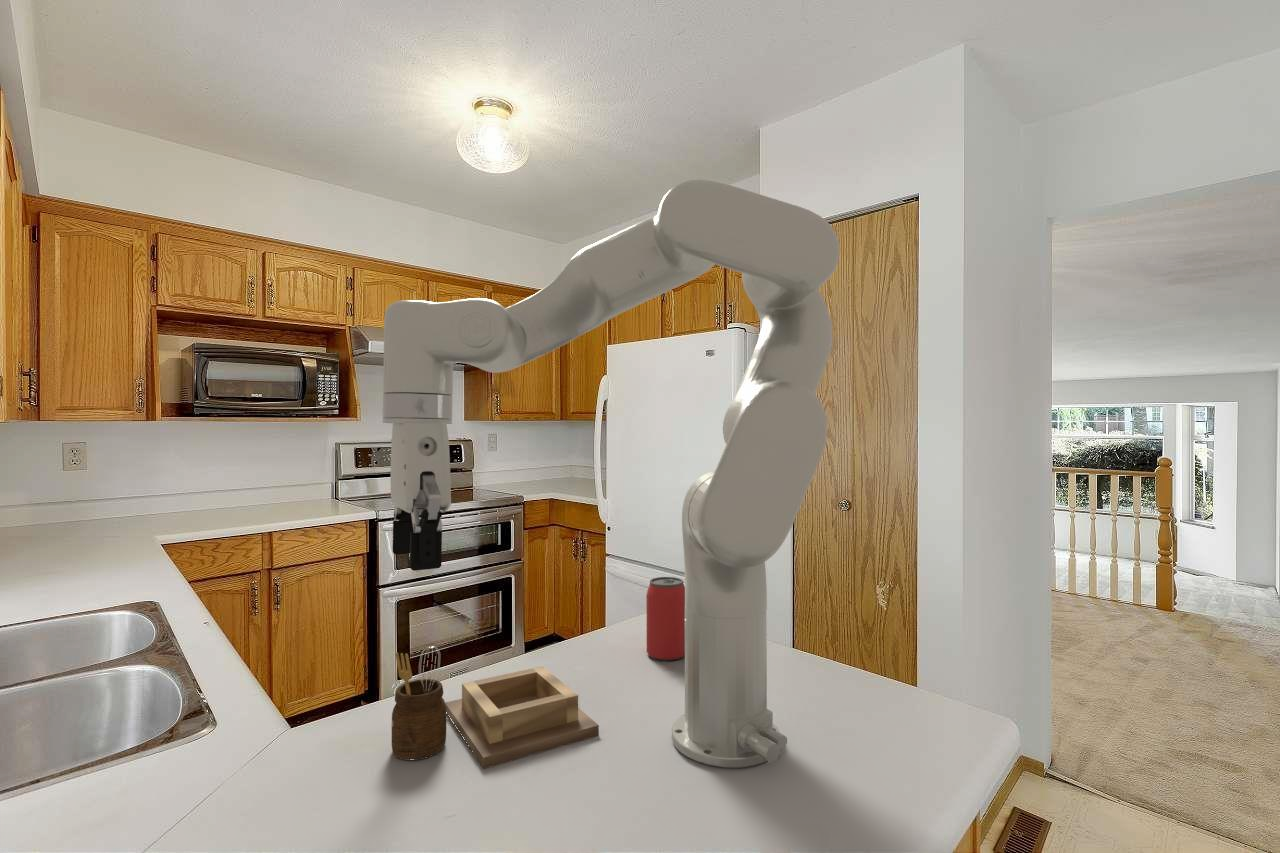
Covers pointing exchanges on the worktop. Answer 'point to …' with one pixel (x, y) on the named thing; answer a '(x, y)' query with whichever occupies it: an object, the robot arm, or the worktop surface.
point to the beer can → (666, 618)
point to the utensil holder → (418, 714)
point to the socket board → (518, 716)
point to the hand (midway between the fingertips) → (415, 560)
